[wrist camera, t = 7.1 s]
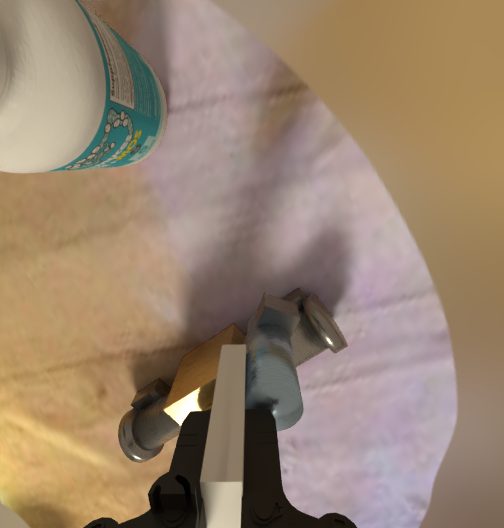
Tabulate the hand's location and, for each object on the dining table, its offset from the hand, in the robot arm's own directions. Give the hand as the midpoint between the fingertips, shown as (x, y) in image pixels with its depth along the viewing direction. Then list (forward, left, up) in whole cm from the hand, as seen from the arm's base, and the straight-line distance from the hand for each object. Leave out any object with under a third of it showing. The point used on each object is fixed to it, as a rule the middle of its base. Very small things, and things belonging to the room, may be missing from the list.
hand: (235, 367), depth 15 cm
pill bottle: (-16, +1, -10) cm, 19 cm away
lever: (+3, -2, -3) cm, 5 cm away
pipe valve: (+5, -6, -10) cm, 13 cm away
